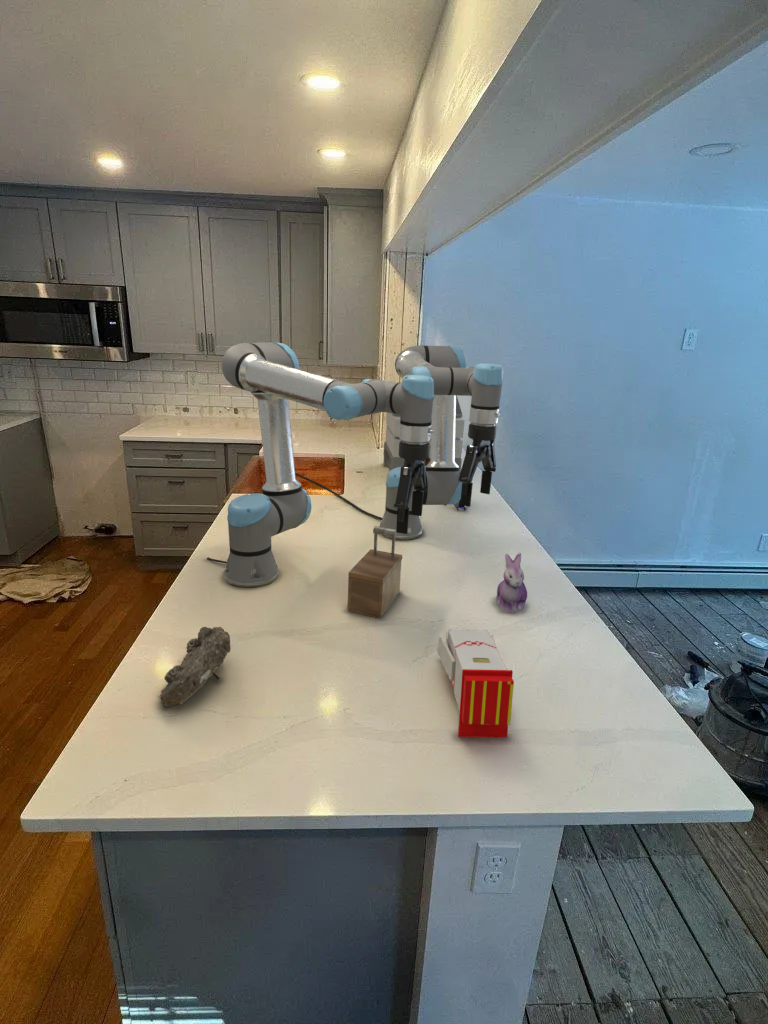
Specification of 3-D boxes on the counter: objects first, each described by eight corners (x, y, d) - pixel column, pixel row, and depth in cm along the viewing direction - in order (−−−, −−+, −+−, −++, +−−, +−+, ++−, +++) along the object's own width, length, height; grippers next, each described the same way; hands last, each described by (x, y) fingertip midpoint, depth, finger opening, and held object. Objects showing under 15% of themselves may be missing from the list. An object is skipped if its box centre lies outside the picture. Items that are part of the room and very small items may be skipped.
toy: (488, 613, 130) (523, 677, 101) (484, 667, 133) (517, 744, 104) (435, 612, 130) (455, 676, 101) (432, 666, 133) (451, 743, 103)
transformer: (382, 463, 289) (386, 382, 275) (445, 464, 293) (451, 384, 279) (390, 482, 257) (394, 392, 243) (460, 483, 261) (468, 394, 247)
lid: (370, 553, 159) (371, 522, 156) (402, 558, 156) (403, 528, 153) (348, 576, 144) (349, 543, 141) (382, 583, 142) (384, 550, 139)
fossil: (184, 629, 128) (231, 598, 123) (214, 657, 131) (261, 628, 126) (138, 700, 109) (191, 667, 104) (173, 731, 112) (227, 701, 107)
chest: (368, 586, 162) (369, 553, 158) (399, 592, 159) (401, 559, 155) (347, 611, 148) (348, 576, 144) (381, 618, 145) (382, 583, 142)
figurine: (509, 617, 148) (516, 565, 143) (485, 599, 156) (491, 550, 151) (537, 610, 152) (544, 559, 147) (512, 593, 161) (519, 544, 156)
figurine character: (470, 515, 225) (465, 499, 238) (472, 498, 221) (467, 483, 235) (453, 515, 224) (449, 499, 238) (455, 497, 221) (451, 482, 234)
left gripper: (416, 454, 124) (410, 543, 132) (441, 433, 147) (435, 510, 154) (383, 450, 127) (379, 538, 134) (413, 430, 149) (408, 506, 156)
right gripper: (477, 433, 139) (469, 514, 147) (513, 419, 159) (504, 491, 167) (450, 428, 143) (443, 507, 150) (488, 415, 163) (480, 486, 170)
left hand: (409, 523), depth 144 cm, fingers open, 13 cm apart
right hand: (475, 499), depth 159 cm, fingers open, 13 cm apart
